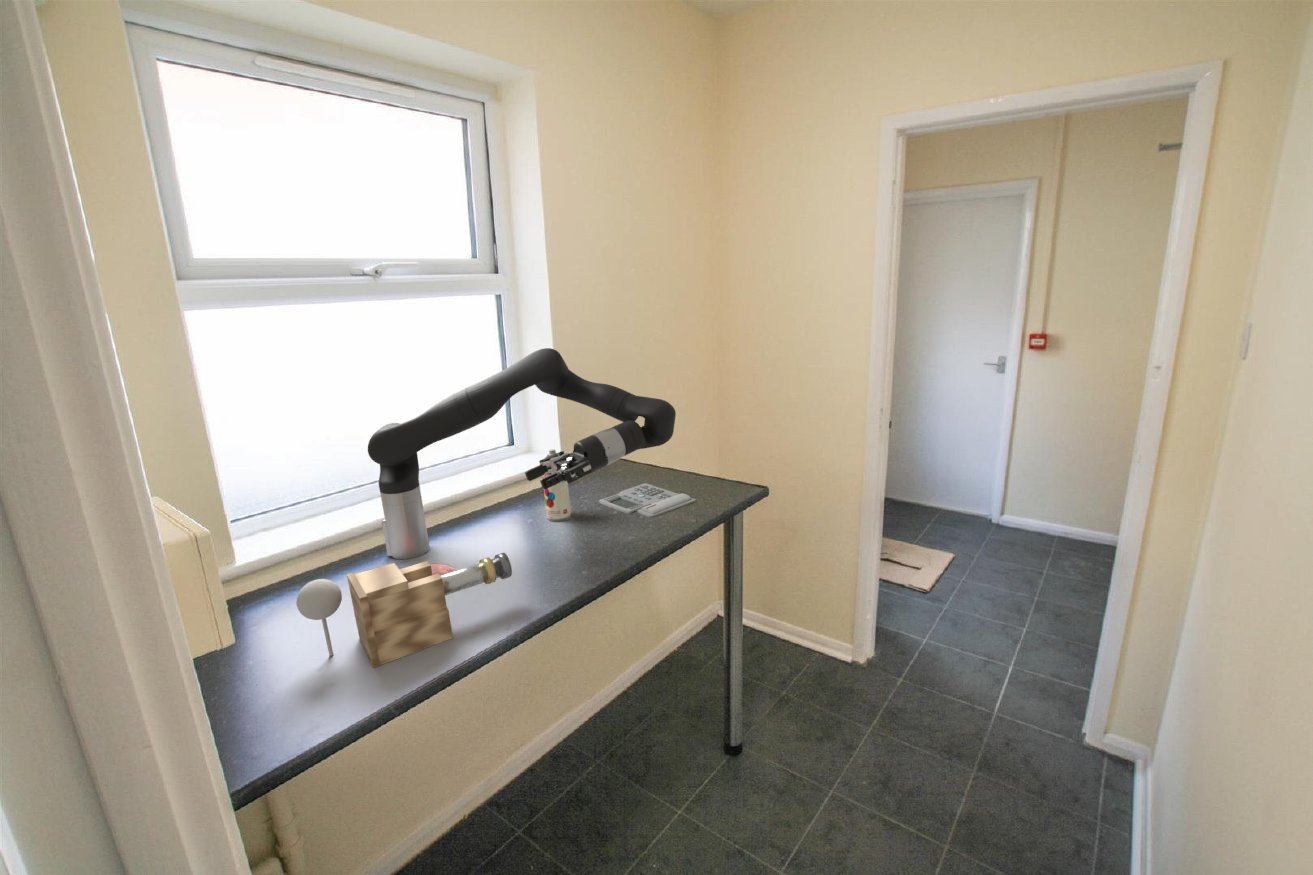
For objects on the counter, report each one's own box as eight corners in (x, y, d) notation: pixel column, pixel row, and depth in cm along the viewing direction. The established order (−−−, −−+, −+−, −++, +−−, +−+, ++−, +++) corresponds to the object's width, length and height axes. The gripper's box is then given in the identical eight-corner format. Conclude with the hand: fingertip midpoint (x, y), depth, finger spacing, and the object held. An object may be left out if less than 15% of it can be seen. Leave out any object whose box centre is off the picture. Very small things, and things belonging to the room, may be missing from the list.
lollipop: (359, 642, 115) (345, 570, 111) (341, 665, 108) (325, 589, 105) (321, 645, 115) (306, 573, 111) (301, 668, 108) (284, 592, 104)
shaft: (427, 609, 115) (423, 584, 113) (419, 599, 119) (415, 575, 117) (513, 580, 124) (510, 557, 123) (503, 571, 128) (500, 549, 127)
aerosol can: (542, 518, 173) (534, 450, 168) (561, 511, 178) (555, 445, 173) (556, 523, 168) (549, 454, 163) (575, 516, 173) (569, 449, 168)
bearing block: (373, 667, 107) (359, 598, 104) (359, 638, 116) (346, 574, 113) (453, 637, 115) (442, 572, 112) (434, 612, 124) (424, 551, 121)
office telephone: (696, 494, 179) (646, 514, 166) (697, 503, 180) (646, 523, 167) (645, 478, 196) (595, 495, 183) (645, 486, 197) (596, 503, 184)
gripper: (580, 430, 138) (516, 458, 130) (610, 439, 126) (541, 470, 119) (590, 460, 140) (527, 489, 133) (620, 471, 128) (553, 504, 121)
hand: (534, 480), depth 126 cm, fingers open, 8 cm apart
